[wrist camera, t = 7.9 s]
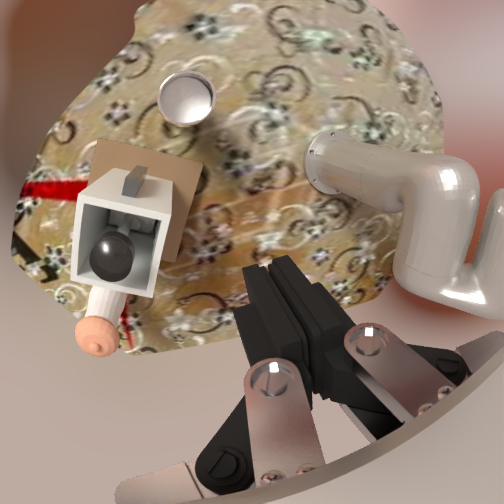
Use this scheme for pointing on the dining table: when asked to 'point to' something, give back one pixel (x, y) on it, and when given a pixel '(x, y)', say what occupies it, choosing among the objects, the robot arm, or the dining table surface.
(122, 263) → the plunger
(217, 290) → the dining table surface
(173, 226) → the white pen holder
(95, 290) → the salt shaker
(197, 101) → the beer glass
